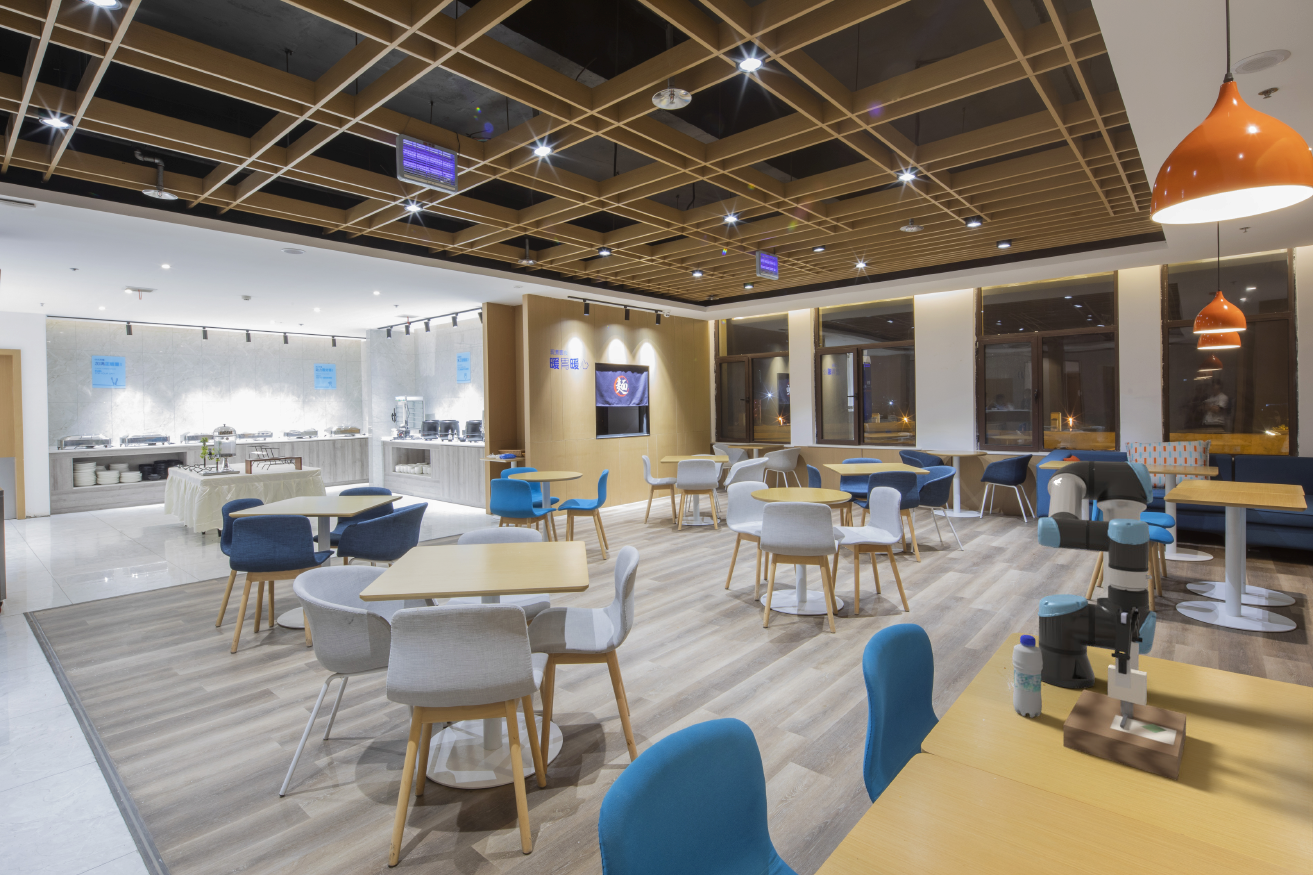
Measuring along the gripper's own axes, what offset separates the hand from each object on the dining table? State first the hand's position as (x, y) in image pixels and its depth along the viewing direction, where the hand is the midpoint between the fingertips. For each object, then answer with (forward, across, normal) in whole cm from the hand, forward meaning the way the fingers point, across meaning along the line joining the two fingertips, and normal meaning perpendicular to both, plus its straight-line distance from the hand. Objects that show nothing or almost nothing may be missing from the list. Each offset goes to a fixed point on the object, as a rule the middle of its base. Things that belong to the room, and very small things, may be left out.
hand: (1127, 677), depth 144 cm
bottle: (+14, -2, +20) cm, 25 cm away
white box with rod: (+9, -3, 0) cm, 10 cm away
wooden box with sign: (+14, -2, 0) cm, 14 cm away
